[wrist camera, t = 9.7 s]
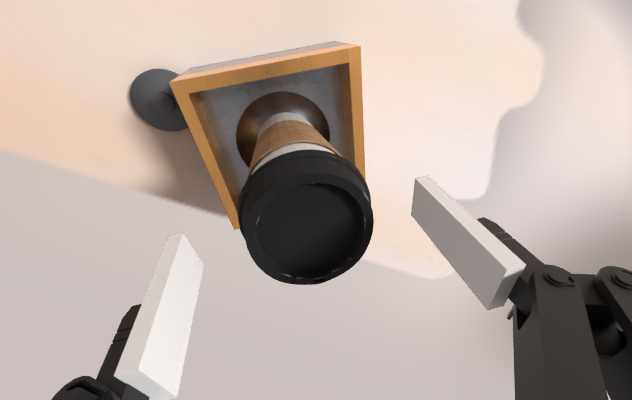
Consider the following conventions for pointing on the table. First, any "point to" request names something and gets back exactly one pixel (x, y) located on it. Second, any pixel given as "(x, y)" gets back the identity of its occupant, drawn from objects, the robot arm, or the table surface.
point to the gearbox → (271, 107)
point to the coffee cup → (303, 205)
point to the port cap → (157, 100)
